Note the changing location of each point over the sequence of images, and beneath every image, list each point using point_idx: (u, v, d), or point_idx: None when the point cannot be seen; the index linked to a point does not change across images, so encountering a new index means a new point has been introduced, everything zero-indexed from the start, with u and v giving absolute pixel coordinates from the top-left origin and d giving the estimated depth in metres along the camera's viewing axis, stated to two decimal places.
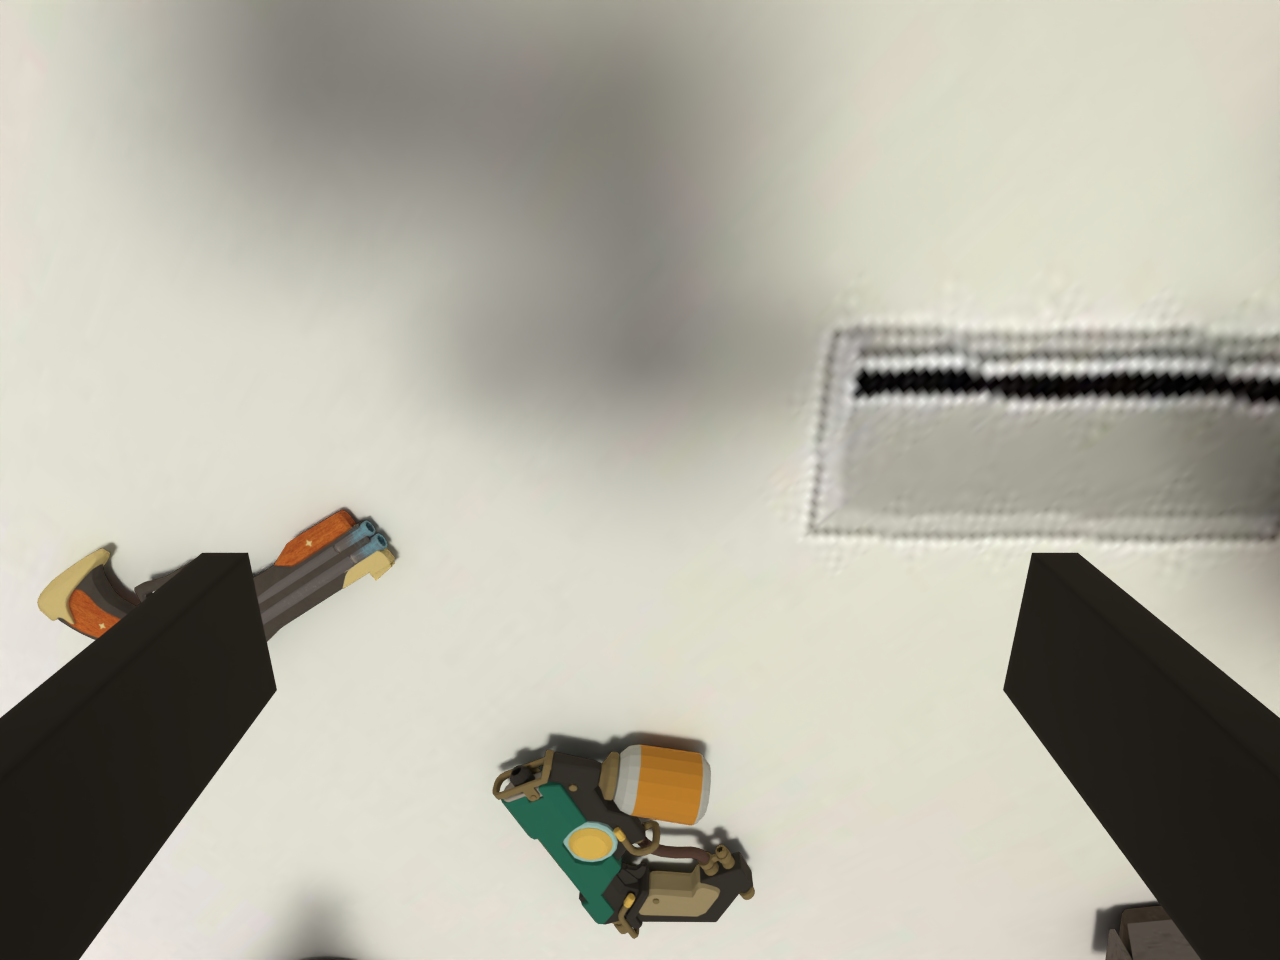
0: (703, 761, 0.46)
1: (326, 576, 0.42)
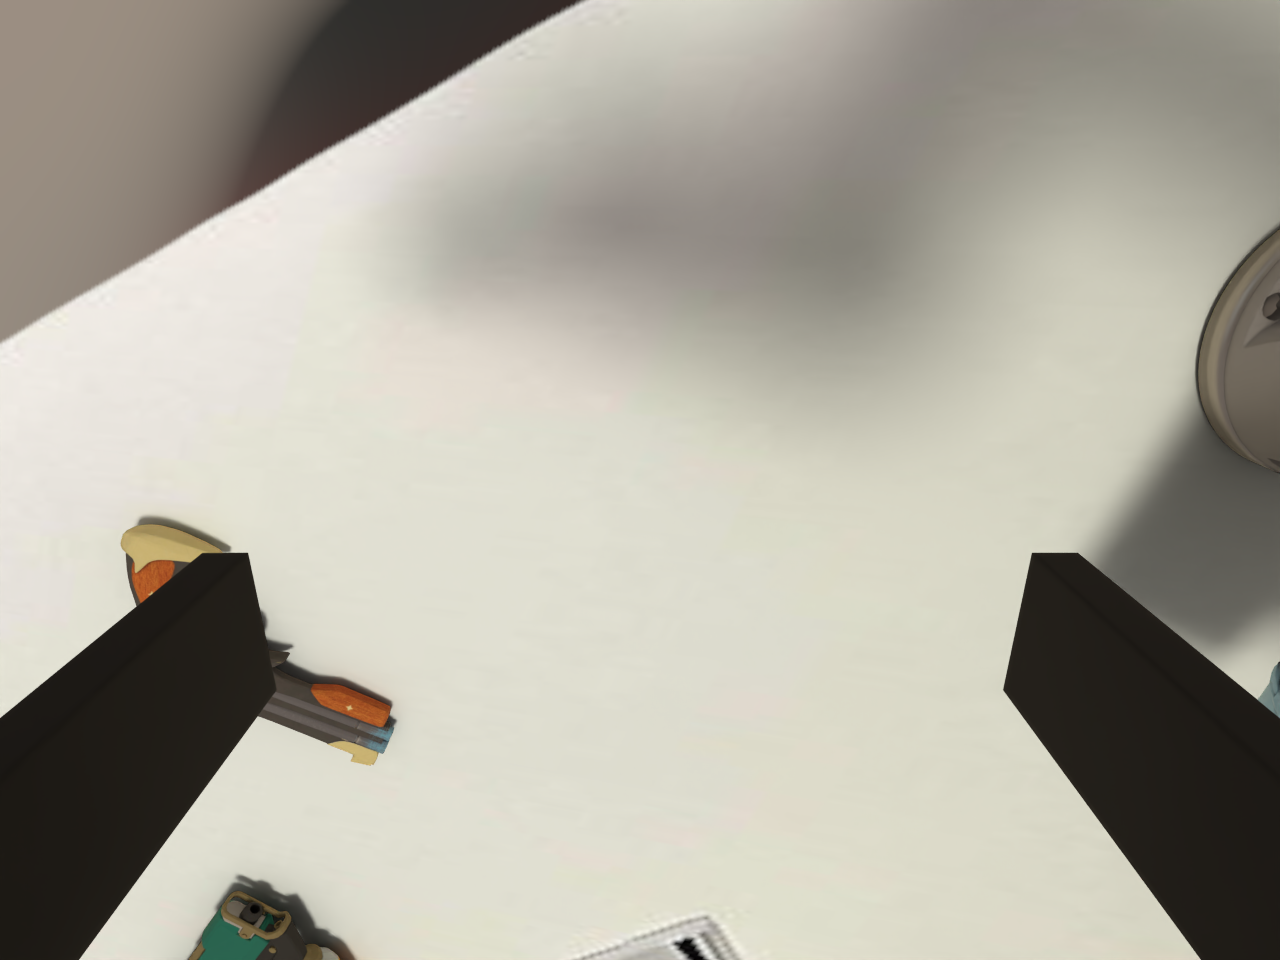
0: None
1: (329, 730, 0.47)
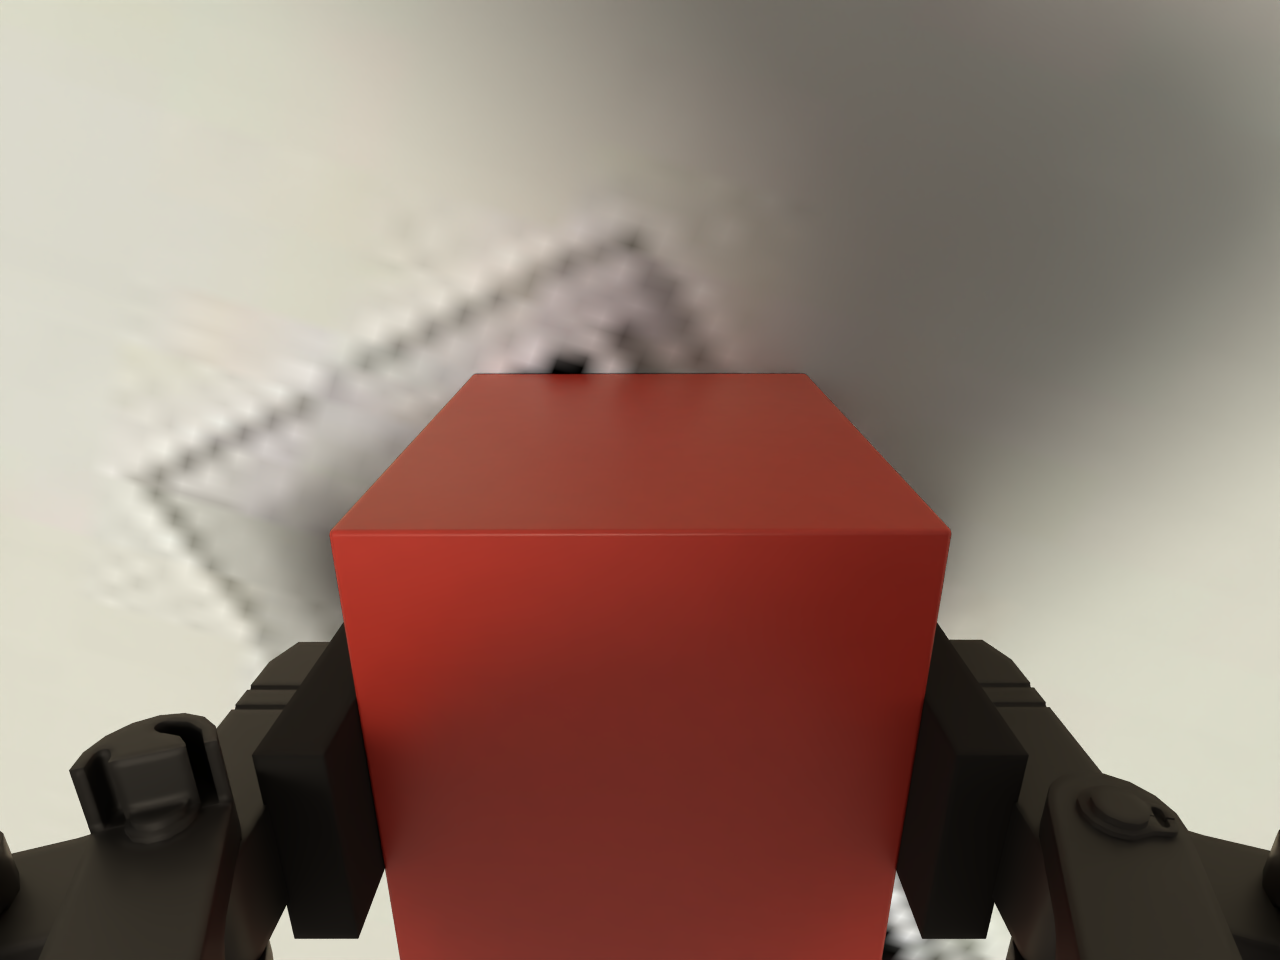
0: None
1: None
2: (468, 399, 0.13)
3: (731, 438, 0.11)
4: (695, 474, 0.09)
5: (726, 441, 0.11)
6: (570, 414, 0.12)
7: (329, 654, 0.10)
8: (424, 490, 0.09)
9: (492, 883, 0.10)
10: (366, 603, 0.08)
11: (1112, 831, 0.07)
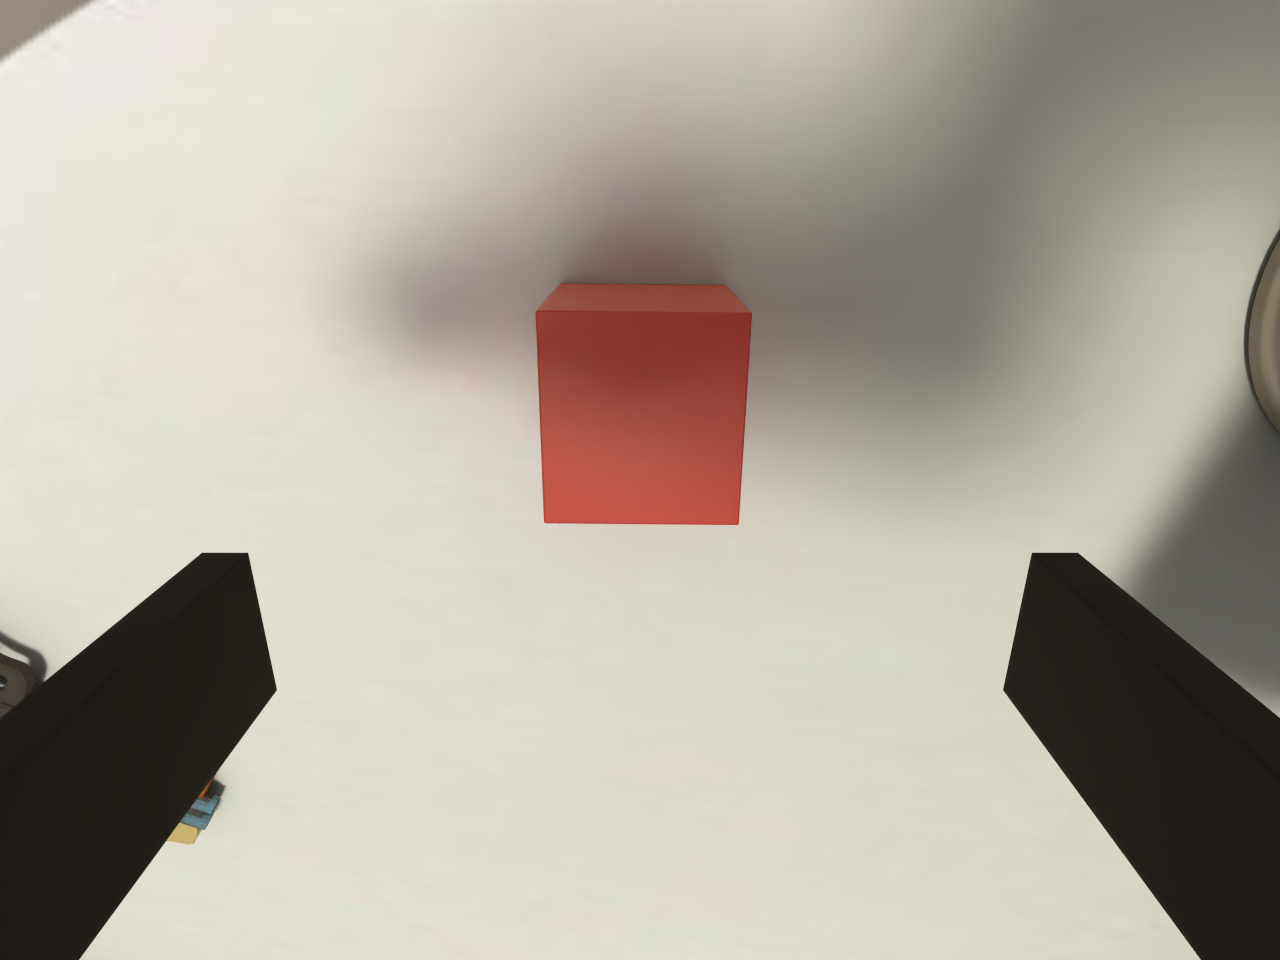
0: None
1: None
2: (563, 289, 0.28)
3: (681, 298, 0.26)
4: (664, 304, 0.24)
5: (679, 298, 0.26)
6: (612, 293, 0.27)
7: None
8: (562, 305, 0.24)
9: (583, 466, 0.25)
10: (546, 339, 0.23)
11: None
